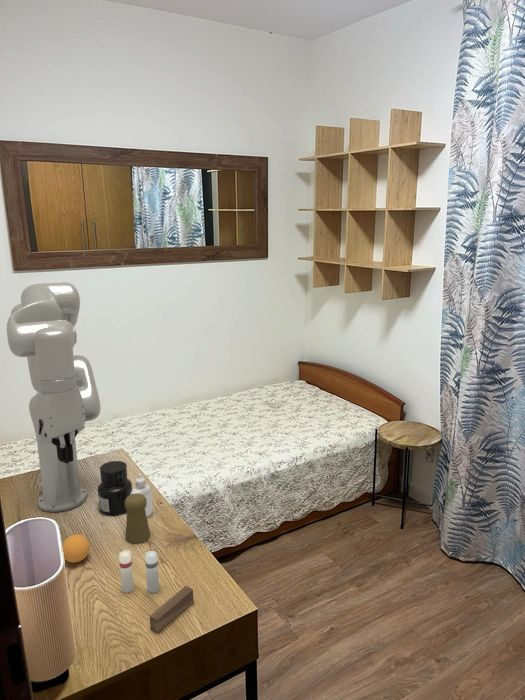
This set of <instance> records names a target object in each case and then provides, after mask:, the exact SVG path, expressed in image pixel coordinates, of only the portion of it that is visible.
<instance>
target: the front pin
mask: <svg viewBox="0 0 525 700" xmlns="http://www.w3.org/2000/svg"><path fill="white" fill-rule="evenodd" d="M118 559H119V561H118V563H119V573H120V582H121V592H122V593H124V594H128V593H131V592H133V591H134V589H135V587H134V577H133V561H132V551H130V550H126V549H125V550H122V551H120V552H119V554H118Z"/></svg>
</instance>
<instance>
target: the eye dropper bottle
mask: <svg viewBox="0 0 525 700" xmlns="http://www.w3.org/2000/svg"><path fill="white" fill-rule="evenodd" d="M134 482H135V487H134V488H132V492H131V494H136V493H138V494H142V495H144V496H145V498H146V501H147V504H146V507H145V512H146V516H147V518H149V517H150V516H151V515H152V514H153V512H154V507H153V504H154V503H153V494H152V492H153V490H152V487H151V486H150V485H148V484H146V478H145V477H143V475H142V473H138V475H137V477H136V478H135V481H134ZM131 494H130V495H131Z"/></svg>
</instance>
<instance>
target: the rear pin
mask: <svg viewBox="0 0 525 700" xmlns="http://www.w3.org/2000/svg"><path fill="white" fill-rule="evenodd" d="M144 556H145V558H144V559H145V562H144V563H145V571H146V572H145V573H146V591H147V592H148V593H149V594H155V593H158V592H159V590H160V583H159V582H160V581H159V580H160V579H159V562H158V552H157V551H156V550H148V551H147V552H145V555H144Z"/></svg>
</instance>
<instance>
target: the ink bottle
mask: <svg viewBox="0 0 525 700" xmlns="http://www.w3.org/2000/svg"><path fill="white" fill-rule="evenodd" d="M99 471H100V481H101V482H100V483H99V484H98V486H97V498H98V507H99V509H98V510H99V511H100V512H101V513H102V514H103V515H106V516H117V515H121V514H125V513H127V510H126V509H125V500H126V498H127V497H128V496H129V495H130V494H131V492H132V490H133V483H132V480H130V479H129V478H128V468H127V463H126V462H125V461H121V460H113V461H112V460H111V461H108V462H104V463H103V464H102V465H101V466H100V467H99Z"/></svg>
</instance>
